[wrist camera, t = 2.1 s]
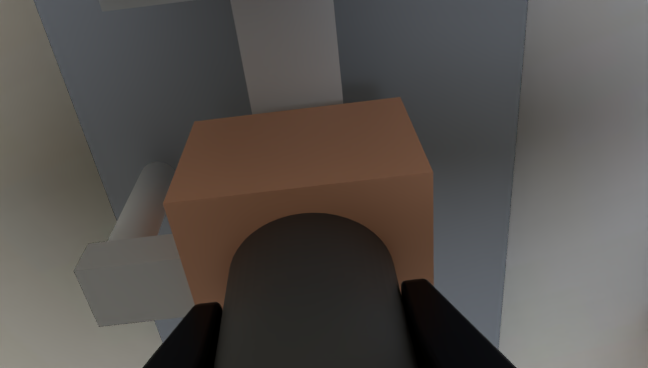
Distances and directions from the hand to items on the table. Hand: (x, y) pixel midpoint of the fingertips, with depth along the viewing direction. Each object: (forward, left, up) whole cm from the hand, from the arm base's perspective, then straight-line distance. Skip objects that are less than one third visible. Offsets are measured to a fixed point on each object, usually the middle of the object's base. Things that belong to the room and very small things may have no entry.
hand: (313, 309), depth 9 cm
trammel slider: (+1, 0, -5) cm, 5 cm away
